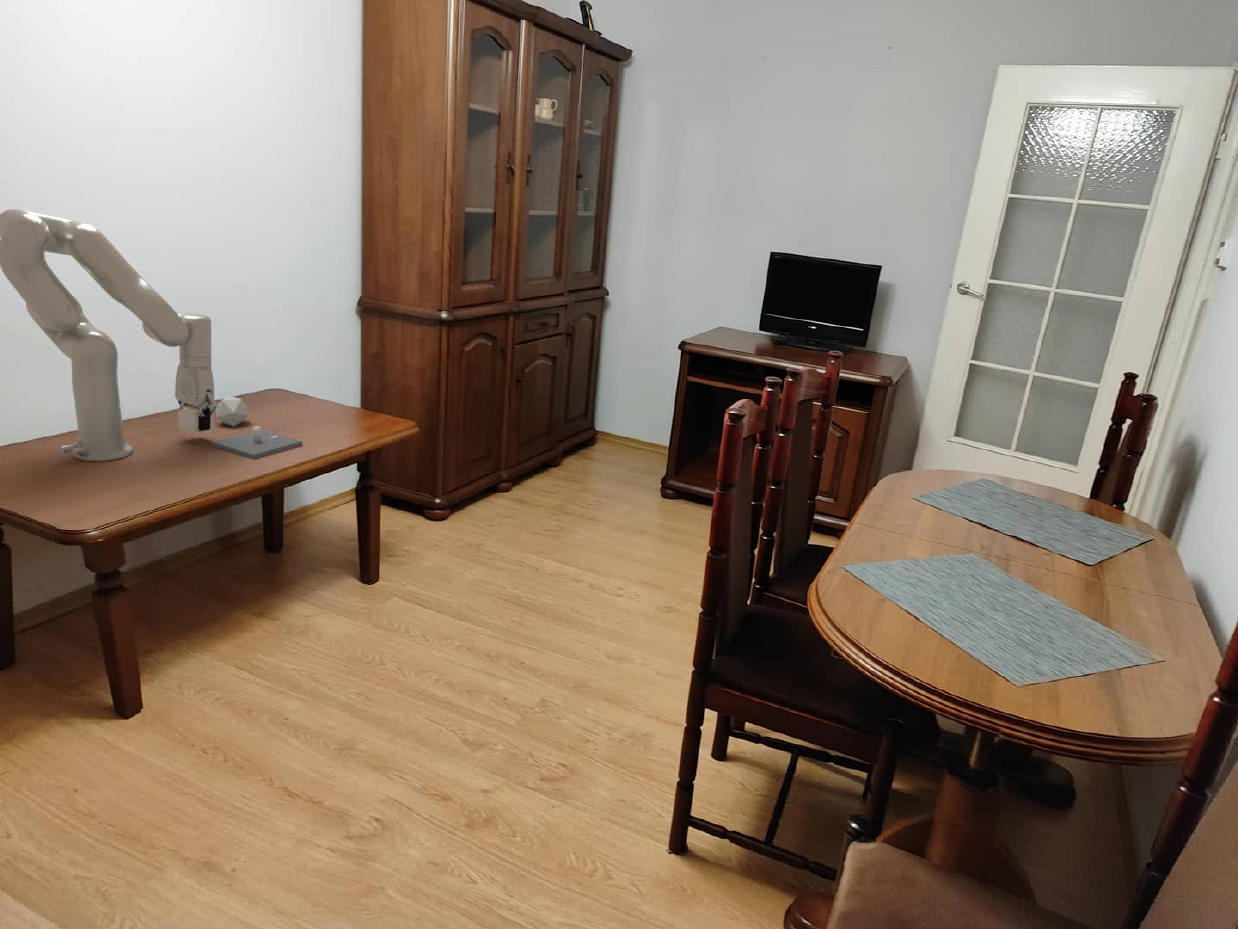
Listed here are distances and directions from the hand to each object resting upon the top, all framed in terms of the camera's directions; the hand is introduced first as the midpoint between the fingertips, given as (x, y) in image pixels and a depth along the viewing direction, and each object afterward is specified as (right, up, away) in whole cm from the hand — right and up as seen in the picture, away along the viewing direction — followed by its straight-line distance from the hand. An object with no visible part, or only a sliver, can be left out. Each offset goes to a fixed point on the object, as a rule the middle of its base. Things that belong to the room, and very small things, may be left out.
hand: (196, 426), depth 221 cm
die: (+1, +1, +18) cm, 18 cm away
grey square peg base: (+16, -5, +2) cm, 17 cm away
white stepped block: (0, -1, 0) cm, 1 cm away
